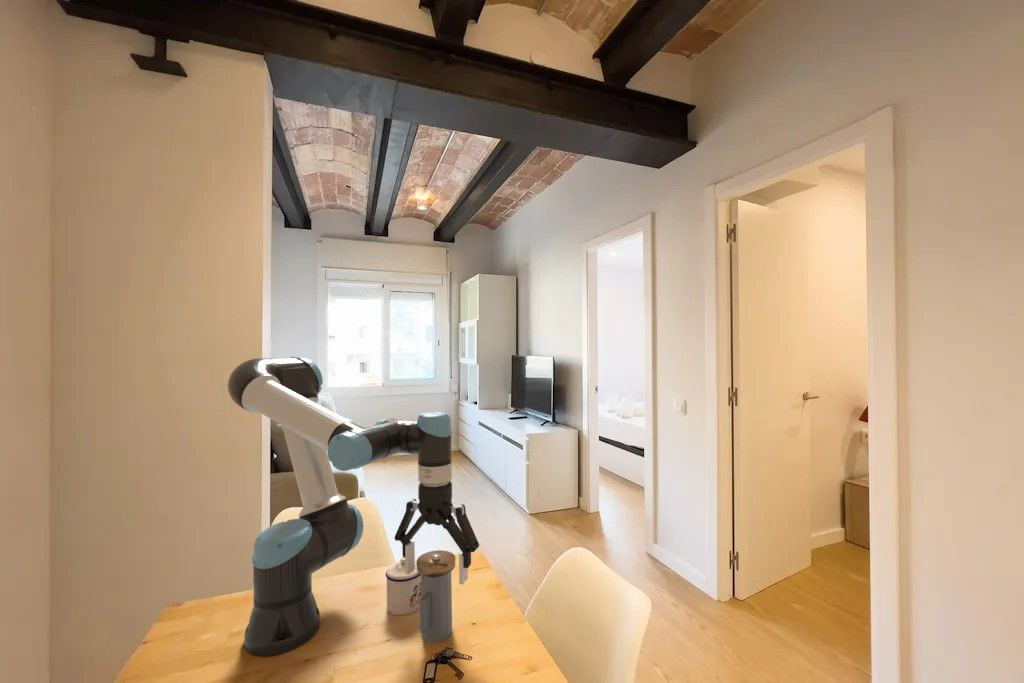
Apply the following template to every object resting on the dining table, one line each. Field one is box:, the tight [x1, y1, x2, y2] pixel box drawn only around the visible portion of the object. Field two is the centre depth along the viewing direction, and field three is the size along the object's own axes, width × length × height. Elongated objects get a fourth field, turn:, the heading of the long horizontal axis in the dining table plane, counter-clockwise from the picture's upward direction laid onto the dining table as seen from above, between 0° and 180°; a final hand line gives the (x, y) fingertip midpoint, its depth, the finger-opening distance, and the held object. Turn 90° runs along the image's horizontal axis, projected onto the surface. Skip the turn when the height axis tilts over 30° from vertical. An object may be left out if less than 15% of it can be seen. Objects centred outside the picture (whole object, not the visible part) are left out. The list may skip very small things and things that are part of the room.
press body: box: [419, 571, 453, 643], centre depth 96 cm, size 7×9×14 cm
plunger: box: [416, 549, 456, 576], centre depth 97 cm, size 9×9×14 cm
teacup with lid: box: [385, 557, 421, 616], centre depth 109 cm, size 12×9×12 cm
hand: (436, 576), depth 97 cm, fingers open, 13 cm apart
